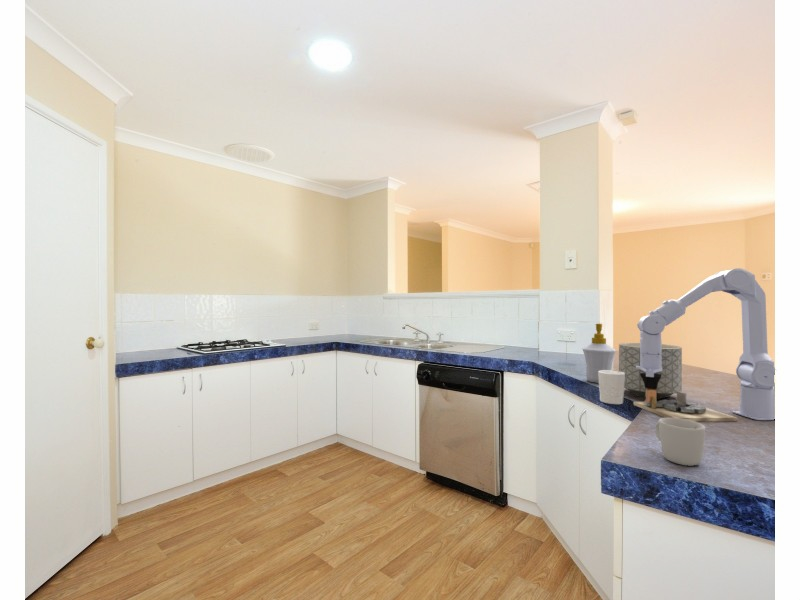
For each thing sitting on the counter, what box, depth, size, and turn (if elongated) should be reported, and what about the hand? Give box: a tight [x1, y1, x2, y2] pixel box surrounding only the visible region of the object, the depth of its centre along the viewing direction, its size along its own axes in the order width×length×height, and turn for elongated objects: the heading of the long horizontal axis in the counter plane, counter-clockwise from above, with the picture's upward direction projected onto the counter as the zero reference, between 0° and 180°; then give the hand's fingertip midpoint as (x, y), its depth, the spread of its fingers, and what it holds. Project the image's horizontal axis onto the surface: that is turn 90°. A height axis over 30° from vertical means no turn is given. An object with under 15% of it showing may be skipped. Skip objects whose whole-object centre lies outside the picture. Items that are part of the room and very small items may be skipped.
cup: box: [654, 417, 707, 467], centre depth 82 cm, size 11×8×8 cm
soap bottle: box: [581, 323, 617, 384], centre depth 164 cm, size 13×13×25 cm
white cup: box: [598, 370, 625, 405], centre depth 130 cm, size 8×8×10 cm
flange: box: [643, 388, 707, 413], centre depth 118 cm, size 15×11×5 cm
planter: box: [618, 342, 683, 400], centre depth 139 cm, size 19×19×18 cm
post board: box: [633, 391, 738, 422], centre depth 118 cm, size 18×18×6 cm
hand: (650, 396), depth 122 cm, fingers closed
